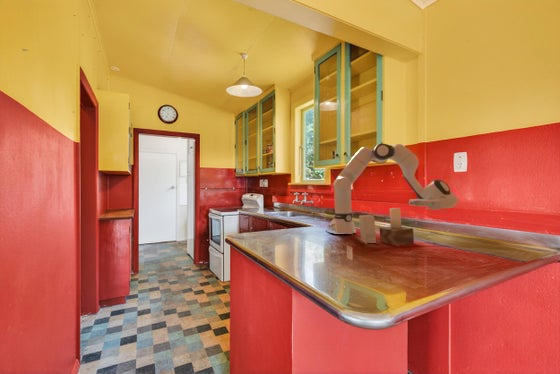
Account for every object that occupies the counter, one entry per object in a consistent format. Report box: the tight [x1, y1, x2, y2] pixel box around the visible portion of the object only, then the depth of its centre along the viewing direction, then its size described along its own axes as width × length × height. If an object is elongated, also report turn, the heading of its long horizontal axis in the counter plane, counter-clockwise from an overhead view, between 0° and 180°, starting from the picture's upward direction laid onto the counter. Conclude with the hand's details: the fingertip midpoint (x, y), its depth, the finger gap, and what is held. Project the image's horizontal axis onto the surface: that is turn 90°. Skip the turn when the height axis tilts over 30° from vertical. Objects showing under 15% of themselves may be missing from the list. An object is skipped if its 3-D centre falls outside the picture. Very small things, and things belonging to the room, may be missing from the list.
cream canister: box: [389, 207, 402, 229], centre depth 140 cm, size 6×6×11 cm
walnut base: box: [379, 226, 415, 247], centre depth 140 cm, size 12×12×8 cm
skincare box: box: [358, 214, 377, 244], centre depth 143 cm, size 8×7×16 cm
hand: (416, 203), depth 144 cm, fingers open, 8 cm apart
